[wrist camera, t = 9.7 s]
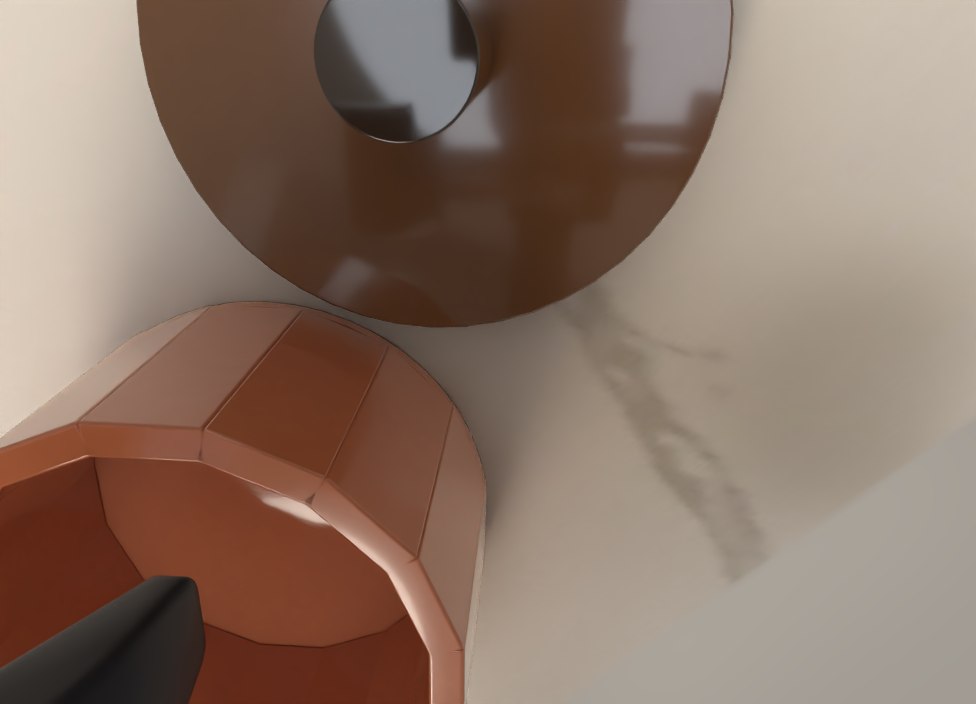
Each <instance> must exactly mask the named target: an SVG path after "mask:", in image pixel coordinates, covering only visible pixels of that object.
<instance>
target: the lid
mask: <svg viewBox="0 0 976 704" xmlns="http://www.w3.org/2000/svg"><path fill="white" fill-rule="evenodd" d="M137 13H138V25H139V37H140V46H141V51H142V56H143V61H144V66H145V71H146V76H147V81H148V85H149V88H150V91H151V94H152V97H153V101H154V104H155V107H156V110H157V113H158V116H159V119H160V122H161V124H162V127H163V129H164V131H165V133H166V135H167V138H168V140H169V142H170V144H171V146H172V149H173V151H174V153H175V155H176V157H177V159H178V161H179V163H180V164H181V166H182V168H183V169H184V171H185V173H186V174H187V176H188V178H189V179H190V181H191V183H192V184H193V186H194V188H195V189H196V191H197V192H198V194H199V195H200V196H201V197H202V199H203V200H204V201H205V203H206V204H207V205H208V207H209V208H210V209H211V211H212V212H213V213H214V215H215V216H216V217H217V219H218V220H219V221H220V222H221V223H222V224H223V225H224V226H225V227H226V228H227V229H228V230H229V231H230V232H231V234H232V235H233V236H234V237H235V238H236V239H237V240H238V241H239V242H240V243H241V244H242V245H243V246H244V247H245V248H246V249H247V250H249V251H250V252H251V253H252V254H253V255H255V256H256V257H257V258H258V259H259V260H261V261H262V262H263V263H264V264H265V265H267V266H268V267H269V268H270V269H271V270H273V271H274V272H276V273H277V274H279V275H281V276H282V277H284V278H285V279H287V280H288V281H290V282H291V283H293V284H294V285H296V286H297V287H299V288H300V289H302V290H304V291H306V292H308V293H310V294H312V295H314V296H316V297H318V298H320V299H322V300H324V301H326V302H328V303H330V304H332V305H335V306H338V307H340V308H343V309H346V310H349V311H352V312H354V313H357V314H360V315H363V316H366V317H370V318H375V319H379V320H383V321H388V322H392V323H397V324H404V325H414V326H424V327H467V326H474V325H481V324H488V323H495V322H500V321H504V320H508V319H511V318H515V317H519V316H522V315H526V314H529V313H533V312H535V311H538V310H540V309H542V308H545V307H547V306H550V305H552V304H554V303H557V302H559V301H562V300H564V299H566V298H568V297H569V296H571V295H573V294H575V293H576V292H578V291H580V290H582V289H583V288H585V287H587V286H589V285H590V284H592V283H594V282H595V281H597V280H598V279H599V278H601V277H602V276H603V275H605V274H606V273H607V272H609V271H610V270H611V269H613V268H614V267H615V266H617V265H618V264H619V263H621V262H622V261H623V260H624V259H625V258H626V257H627V256H628V255H629V254H631V253H632V252H633V251H634V250H635V249H636V248H637V247H638V246H639V245H640V244H641V243H642V242H643V241H644V240H645V239H646V238H647V237H648V236H649V235H650V234H651V233H652V231H653V230H654V229H655V228H656V226H657V225H658V224H659V223H660V222H661V220H662V219H663V218H664V217H665V215H666V214H667V213H668V212H669V210H670V209H671V208H672V207H673V205H674V204H675V202H676V200H677V199H678V197H679V196H680V194H681V192H682V191H683V189H684V188H685V186H686V184H687V183H688V181H689V180H690V178H691V176H692V175H693V173H694V171H695V169H696V167H697V164H698V162H699V160H700V158H701V156H702V154H703V151H704V149H705V147H706V145H707V143H708V141H709V139H710V136H711V133H712V130H713V127H714V124H715V121H716V117H717V114H718V111H719V108H720V105H721V102H722V99H723V94H724V89H725V84H726V79H727V73H728V68H729V63H730V58H731V44H732V29H733V14H734V13H733V0H137Z"/></svg>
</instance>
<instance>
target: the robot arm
mask: <svg viewBox="0 0 976 704" xmlns="http://www.w3.org/2000/svg"><path fill="white" fill-rule="evenodd" d="M205 648H206V637H205V630H204V623H203V617H202V610H201V604H200V597H199V591H198V587H197V584H196V582H195V581H194V580H193V579H192V578H190V577H185V576H166V575H158V576H154V577H151V578H150V579H148V580H146V581H144V582H143V583H141V584H139V585H138V586H136V587H134V588H133V589H131V590H129V591H128V592H126V593H124V594H123V595H121V596H119V597H118V598H116V599H114V600H113V601H111V602H109V603H108V604H106V605H104V606H103V607H101V608H100V609H98V610H96V611H95V612H93V613H91V614H90V615H88V616H86V617H85V618H83V619H81V620H80V621H78V622H76V623H75V624H73V625H71V626H70V627H68V628H66V629H65V630H63V631H61V632H60V633H58V634H56V635H55V636H53V637H51V638H50V639H48V640H47V641H45V642H43V643H42V644H40V645H38V646H37V647H35V648H33V649H32V650H30V651H28V652H27V653H25V654H23V655H22V656H20V657H18V658H17V659H15V660H13V661H12V662H10V663H8V664H7V665H5V666H3V667H2V668H0V704H188V703H189V700H190V697H191V695H192V692H193V689H194V686H195V683H196V680H197V677H198V674H199V672H200V669H201V666H202V663H203V659H204V655H205Z"/></svg>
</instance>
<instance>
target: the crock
mask: <svg viewBox="0 0 976 704" xmlns="http://www.w3.org/2000/svg"><path fill="white" fill-rule="evenodd" d="M486 508H487V505H486V481H485V475H484V473H483V470H482V465H481V460H480V457H479V454H478V452H477V449H476V446H475V443H474V441H473V438H472V435H471V433H470V432H469V430H468V428H467V426H466V424H465V422H464V420H463V418H462V416H461V415H460V413H459V411H458V410H457V408H456V407H455V406H454V404H453V403H452V401H451V400H450V399H449V397H448V396H447V394H446V393H445V392H444V390H443V389H442V388H441V387H440V386H439V385H438V384H437V383H436V382H435V381H434V379H433V378H432V377H431V376H430V375H429V374H428V373H427V372H426V371H425V370H424V369H423V368H422V367H421V366H419V365H418V364H417V363H416V362H415V361H414V360H412V359H411V358H410V357H409V356H408V355H406V354H405V353H404V352H403V351H402V350H400V349H399V348H397V347H395V346H394V345H392V344H391V343H389V342H388V341H386V340H385V339H383V338H382V337H380V336H379V335H377V334H375V333H373V332H371V331H369V330H367V329H365V328H363V327H361V326H359V325H357V324H355V323H353V322H351V321H348V320H345V319H343V318H340V317H337V316H334V315H331V314H329V313H326V312H323V311H319V310H315V309H310V308H306V307H302V306H297V305H293V304H283V303H273V302H264V301H263V302H232V303H226V304H219V305H213V306H206V307H203V308H200V309H196V310H193V311H190V312H186V313H183V314H180V315H178V316H176V317H173V318H171V319H169V320H167V321H165V322H163V323H161V324H158V325H156V326H155V327H153V328H151V329H149V330H146V331H144V332H141V333H138V334H136V335H135V336H134V337H132V338H130V339H129V340H128V341H127V342H125V343H124V344H123V345H121V346H120V347H119V348H117V349H116V350H115V351H114V352H112V353H111V354H110V355H108V356H107V357H106V358H104V359H103V360H102V361H100V362H99V363H98V364H97V365H95V366H94V367H93V368H91V369H90V370H89V371H87V372H86V373H85V374H83V375H82V376H81V377H80V378H78V379H77V380H76V381H74V382H73V383H72V384H70V385H69V386H68V387H66V388H65V389H64V390H63V391H61V392H60V393H59V394H57V395H56V396H55V397H53V398H52V399H51V400H49V401H48V402H47V403H46V404H44V405H43V406H42V407H40V408H39V409H38V410H36V411H35V412H34V413H33V414H31V415H30V416H29V417H27V418H26V419H25V420H23V421H22V422H21V423H19V424H18V425H17V426H16V427H14V428H13V429H12V430H10V431H9V432H8V433H6V434H5V435H4V436H2V437H1V438H0V668H2V667H3V666H5V665H7V664H8V663H10V662H12V661H13V660H15V659H17V658H18V657H20V656H22V655H23V654H25V653H27V652H28V651H30V650H32V649H33V648H35V647H37V646H38V645H40V644H42V643H43V642H45V641H47V640H48V639H50V638H51V637H53V636H55V635H56V634H58V633H60V632H61V631H63V630H65V629H66V628H68V627H70V626H71V625H73V624H75V623H76V622H78V621H80V620H81V619H83V618H85V617H86V616H88V615H90V614H91V613H93V612H95V611H96V610H98V609H100V608H101V607H103V606H104V605H106V604H108V603H109V602H111V601H113V600H114V599H116V598H118V597H119V596H121V595H123V594H124V593H126V592H128V591H129V590H131V589H133V588H134V587H136V586H138V585H139V584H141V583H143V582H144V581H146V580H148V579H150V578H151V577H154V576H158V575H166V576H185V577H190V578H192V579H193V580H194V581H195V582H196V584H197V587H198V591H199V597H200V604H201V610H202V617H203V623H204V630H205V637H206V648H205V655H204V659H203V663H202V666H201V669H200V672H199V674H198V677H197V680H196V683H195V686H194V689H193V692H192V695H191V697H190V700H189V703H188V704H467V702H468V693H469V684H470V675H471V666H472V658H473V649H474V640H475V631H476V622H477V613H478V604H479V595H480V587H481V578H482V569H483V560H484V551H485V518H486Z"/></svg>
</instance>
